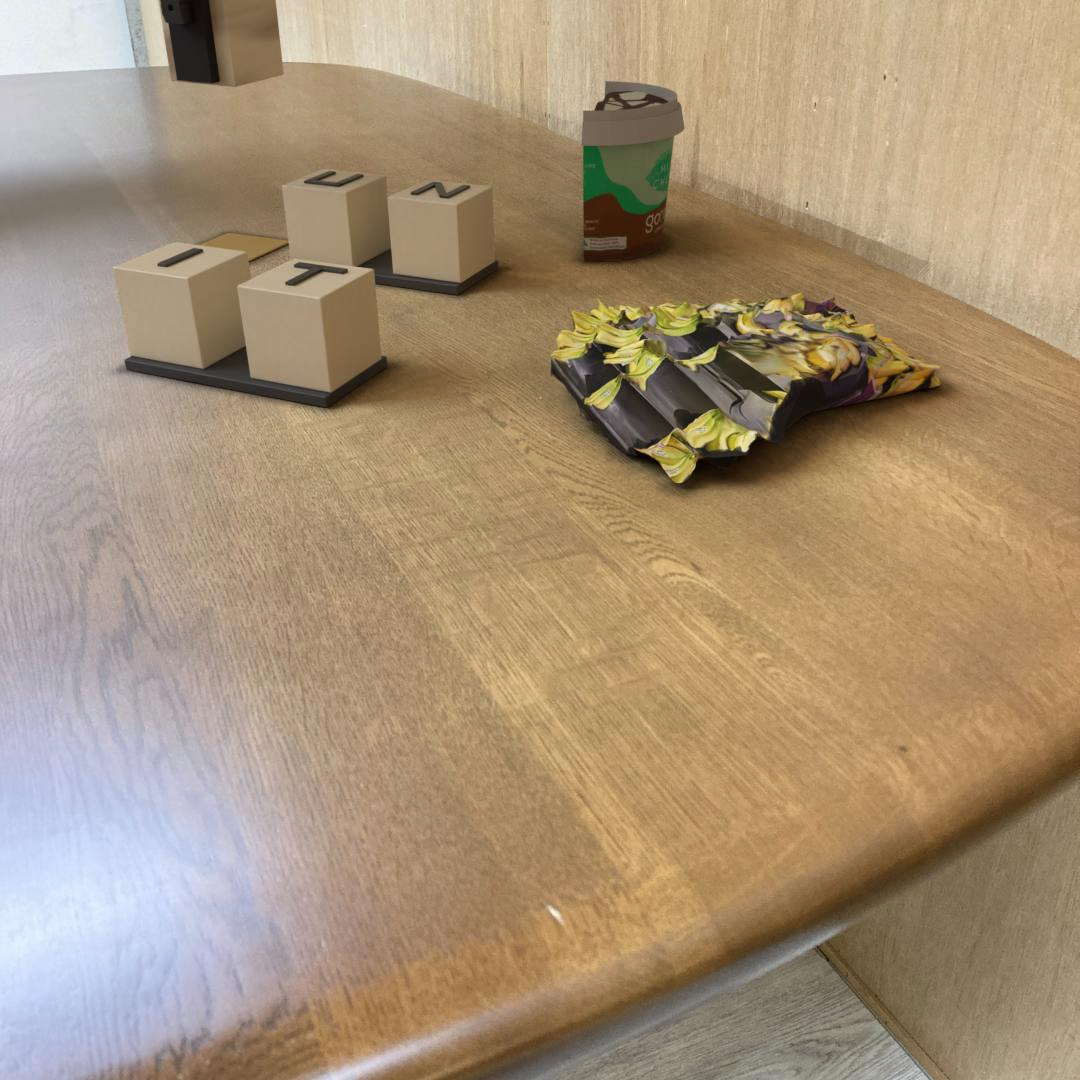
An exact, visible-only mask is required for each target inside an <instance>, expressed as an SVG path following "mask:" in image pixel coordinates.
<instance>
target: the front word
mask: <svg viewBox="0 0 1080 1080" xmlns="http://www.w3.org/2000/svg"><path fill="white" fill-rule="evenodd" d="M249 262H250V261H248V254H247V252H244V251H237V250H230V249H223V248H215V247H208V246H201V245H200V244H193V243H185V242H179V241H178V242H177V241H173V242H171V243H168V244H166V245H163V246H161V247H159V248H156V249H154V250H150V251H148V252H146V253H143V254H141V255H139V256H135V257H133V258H132V259H129V260H126V261H124V262H122V263H121V262H120V263H118V264H116V265H114V266H113V267H112V273H113V275H114V276H113V277H114V282H115V287H116V291H117V297H118V301H119V306H120V311H121V317H122V321H123V327H124V330H125V335H126V340H127V346H128V350H129V354H130V356H129V357H127V358H125V359H124V366H125V370H127V371H132V372H138V373H142V374H148V375H154V376H159V377H164V378H168V379H174V380H180V381H184V382H190V383H194V384H195V383H196V384H201V385H206V386H211V387H216V388H223V389H228V390H232V391H237V392H242V393H249V394H254V395H259V396H265V397H268V398H275V399H279V400H285V401H289V402H296V403H300V404H307V405H312V406H317V407H320V408H328V407H330V406H331V405H333V404H335V403H336V402H338V401H339V400H340V399H341V398H343V397H345V396H346V395H348V394H349V393H351V392H352V391H354V390H355V389H356V388H358V387H359V386H361V385H362V384H363V383H365V382H367V381H368V380H369V379H371V378H372V377H374V376H375V375H377V374H378V373H380V372H382V370H384V369H385V368H387V367H388V359H387V355H386V356H385V355H382V348H381V336H380V324H379V312H378V299H377V289H376V283H375V276H374V269H369V268H361V267H354V266H347V265H339V264H332V263H325V262H317V261H310V260H303V259H296V258H294V259H292V260H291V259H290V260H288V261H286V262H283V263H282V264H279V265H278V266H275V267H274V268H271V269H268V270H267V271H265V272H262V273H260V274H259V275H257V276H254V277H253V278H252V275H251V269H250V263H249Z"/></svg>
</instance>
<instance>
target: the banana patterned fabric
mask: <svg viewBox="0 0 1080 1080" xmlns="http://www.w3.org/2000/svg"><path fill="white" fill-rule="evenodd" d="M595 299H596V302H597V304H598V306H597V308H595V309H591V310H590V315H589V314H587V313H584V312H581V311H580V312H579V311H577V310H575V309H572V308H571V306H567V311H568V312H569V314H570V317H571V319H572V325H573V329H572V330H568V329H561V330H559V332H558V336H557V338H556V339H555V342H556V345H557V346H556V347H557V350H554V351H552V353H551V355H550V372H549V374H550V377H552V376H553V377H554V378H555V379H556V380H558V381H559V382H560V383H562V384H563V386H564V387H565V389H566V390H567V391H568V392H569V393H570V396H571V397H572V398H573V399H574V400H575V401H576V404H577V407H578V411H579V415H580V417H581V418H585V419H586V420H588V421H590V422H591V423H592V424H593V425H594V426H595V427H597V428H598V429H599V431H600V432H601V433H602V434H603V435H604V437H605V438H606V439H607V440H608V441H609V442H610V443H611V444H612V445H613V446H614V447H615V448H616V449H618V450H619V451H620V452H622V453H624V454H626V455H633V456H634V457H636V456H638V455H639V454H643V455H646V456H647V457H650V458H652V459H654V460H656V461H657V462H658V464H659V465H660V466H661V468H662V469H663V470H664V472H665V473H666V474H667V476H668V477H669V478H670V480H671V481H672V482H674V483H676V484H681V483H684V482H685V481H687V480H688V479H689V478H690V477H691V476H692V474H693V472H694V470H695V468H696V465H697V462H700V461H701V462H702V461H704V460H705V462H708V463H709V464H711V465H713V466H715V467H717V468H719V469H727V470H728V469H730V468H731V467H732V466H734V464H735V463H736V462H737V460H738V457H740V456H741V457H742V456H747V455H748V454H749V453H750V452H751V451H752V450H754V449H755V448H756V447H757V446H758V445H760V444H761V443H765V442H768V443H780V442H783V440H784V437H785V434H786V433H787V431H788V430H789V429H790V427H791V426H792V425H793V424H794V423H796V422H798V420H799V419H801V418H802V417H803V416H805V415H806V414H808V413H813V412H819V411H822V410H827V409H833V408H838V407H843V406H848V405H853V404H857V403H862V402H867V401H872V400H877V399H882V398H888V397H895V396H900V395H902V394H905V393H910V392H913V391H917V390H923V389H932V388H935V387H939V386H940V385H941V381H940V379H939V378H938V377H936V375H935V371H937V370H939V369H941V366H940V365H936V364H930V363H926V362H924V361H922V360H920V359H918V358H915V357H914V356H912V355H910V354H908V353H907V352H906V351H905V350H904V349H902V348H900V347H899V346H898V345H896V344H895V343H894V339H893V338H890V337H887V336H884V335H882V334H880V333H878V332H876V324H875V323H867V324H866V323H862V322H859V321H857V320H856V317H855V313H854V312H853V311H851V310H847V309H844V308H842V307H841V306H838V305H837V304H836V297H835V296H831V297H830V298H827V299H825V300H823V301H820V302H814V301H811V300H807V298H806V297H805V296H804V294H803V293H802V292H798V293H795V294H793V295H789V296H785V297H779V298H778V297H777V298H765V299H762V300H759V301H756V302H750V301H747V300H743V299H742V298H732V299H729V300H726V301H724V302H721V301H714V302H712V303H710V304H696V303H689V301H688V300H685V301H684V302H683V303H680V302H679V303H678V302H672V301H667V302H665V303H663V304H660V305H648V306H647V305H642V306H640V307H633V306H631V305H629V306H626V305H623V304H619V307H618V309H616V308H615V307H614V306H611V305H609V306H608V308H607V307H606V306H605V304H604V303H603V302H602V301H601V300H600V299H599V298H598V297H595Z"/></svg>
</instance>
